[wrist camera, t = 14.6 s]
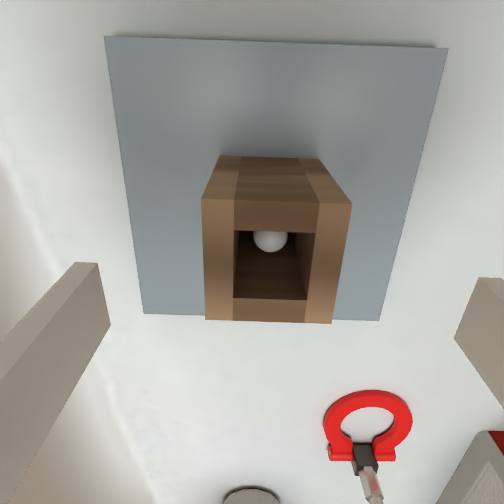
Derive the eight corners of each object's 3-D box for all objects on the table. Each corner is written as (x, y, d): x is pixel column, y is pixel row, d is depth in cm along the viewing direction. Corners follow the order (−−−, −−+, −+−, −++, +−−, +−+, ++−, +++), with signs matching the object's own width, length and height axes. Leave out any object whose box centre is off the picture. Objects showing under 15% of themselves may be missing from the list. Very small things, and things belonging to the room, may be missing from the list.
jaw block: (219, 155, 21) (200, 198, 14) (319, 158, 21) (352, 204, 14) (220, 244, 23) (205, 319, 16) (308, 247, 23) (331, 323, 16)
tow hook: (326, 385, 32) (318, 450, 36) (368, 550, 21) (349, 620, 25) (415, 386, 32) (397, 451, 36) (508, 551, 21) (466, 621, 25)
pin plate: (114, 38, 19) (48, 22, 13) (435, 49, 19) (519, 39, 13) (149, 302, 28) (118, 367, 21) (372, 309, 28) (406, 376, 22)
